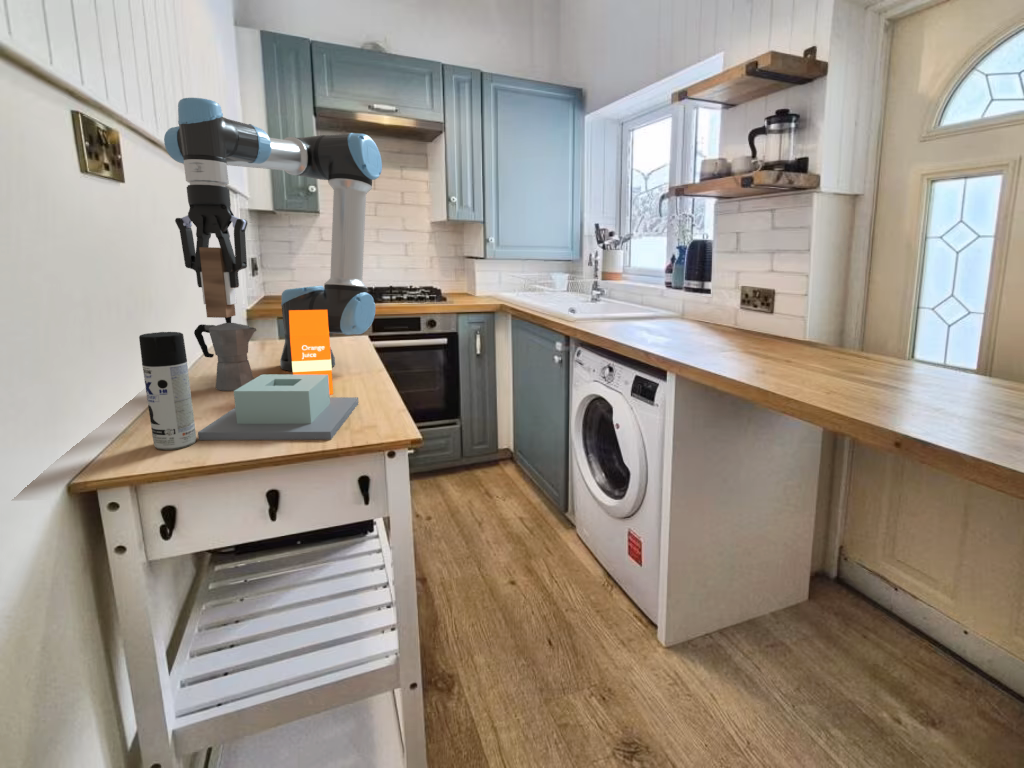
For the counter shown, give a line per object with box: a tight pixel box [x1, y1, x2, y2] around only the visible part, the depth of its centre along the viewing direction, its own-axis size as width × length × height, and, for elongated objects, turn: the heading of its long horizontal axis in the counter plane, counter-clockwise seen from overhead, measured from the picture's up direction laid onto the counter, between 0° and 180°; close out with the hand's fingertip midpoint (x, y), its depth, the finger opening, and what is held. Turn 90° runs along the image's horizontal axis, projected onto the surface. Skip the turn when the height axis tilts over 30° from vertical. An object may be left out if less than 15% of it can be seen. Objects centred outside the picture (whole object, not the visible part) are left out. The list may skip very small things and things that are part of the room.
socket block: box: [197, 373, 360, 441], centre depth 114 cm, size 24×24×8 cm
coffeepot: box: [193, 316, 257, 392], centre depth 139 cm, size 15×9×18 cm, turn 88°
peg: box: [199, 247, 237, 319], centre depth 116 cm, size 4×4×14 cm
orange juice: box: [289, 310, 334, 395], centre depth 135 cm, size 8×9×20 cm
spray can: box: [138, 331, 197, 451], centre depth 99 cm, size 7×7×20 cm
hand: (220, 303), depth 117 cm, fingers closed on peg, 4 cm apart
